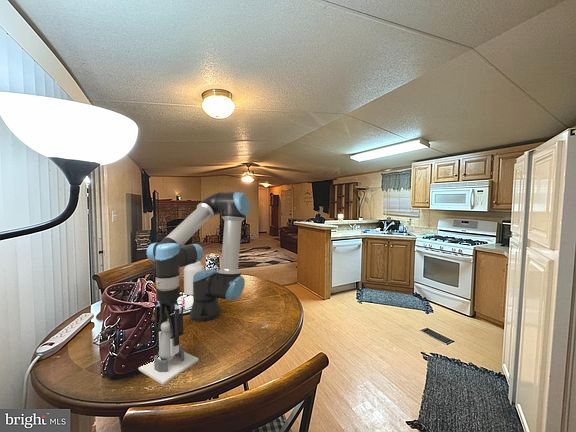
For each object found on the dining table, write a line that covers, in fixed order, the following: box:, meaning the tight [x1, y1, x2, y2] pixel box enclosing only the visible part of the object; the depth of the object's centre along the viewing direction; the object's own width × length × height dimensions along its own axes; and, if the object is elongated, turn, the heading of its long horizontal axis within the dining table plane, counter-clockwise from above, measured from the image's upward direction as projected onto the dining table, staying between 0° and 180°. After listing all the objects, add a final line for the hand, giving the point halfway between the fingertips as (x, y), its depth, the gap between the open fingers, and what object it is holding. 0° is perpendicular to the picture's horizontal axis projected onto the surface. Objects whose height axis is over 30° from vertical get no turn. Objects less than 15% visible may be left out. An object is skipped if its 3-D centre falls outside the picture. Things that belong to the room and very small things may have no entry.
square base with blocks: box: [137, 345, 199, 386], centre depth 86 cm, size 14×14×4 cm
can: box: [183, 260, 205, 296], centre depth 158 cm, size 12×12×20 cm
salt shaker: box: [157, 320, 175, 361], centre depth 85 cm, size 6×6×13 cm
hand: (168, 350), depth 86 cm, fingers closed on salt shaker, 6 cm apart
